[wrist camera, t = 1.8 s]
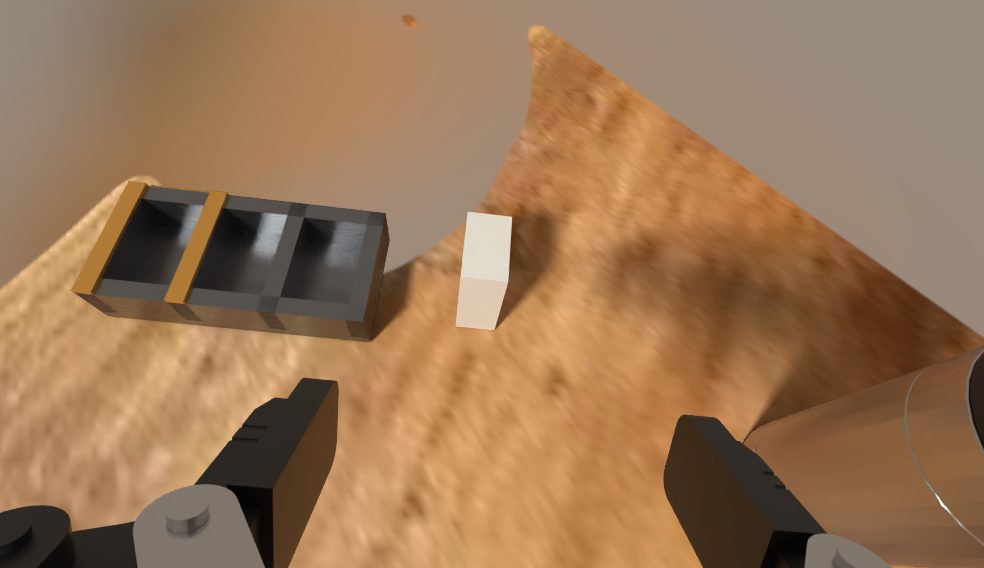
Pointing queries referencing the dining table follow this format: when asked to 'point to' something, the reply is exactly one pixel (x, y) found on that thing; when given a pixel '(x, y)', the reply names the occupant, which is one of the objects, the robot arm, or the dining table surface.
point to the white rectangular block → (484, 270)
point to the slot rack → (238, 263)
